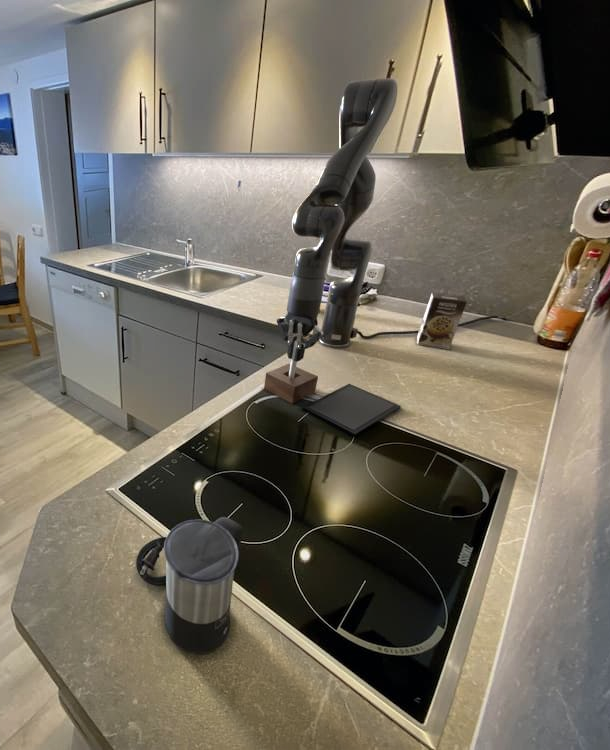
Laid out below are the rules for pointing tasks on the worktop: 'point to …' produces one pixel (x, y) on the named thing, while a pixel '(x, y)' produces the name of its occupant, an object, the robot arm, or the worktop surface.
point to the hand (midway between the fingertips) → (294, 358)
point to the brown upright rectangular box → (441, 320)
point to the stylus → (293, 362)
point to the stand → (290, 383)
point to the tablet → (351, 409)
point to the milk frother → (196, 580)
